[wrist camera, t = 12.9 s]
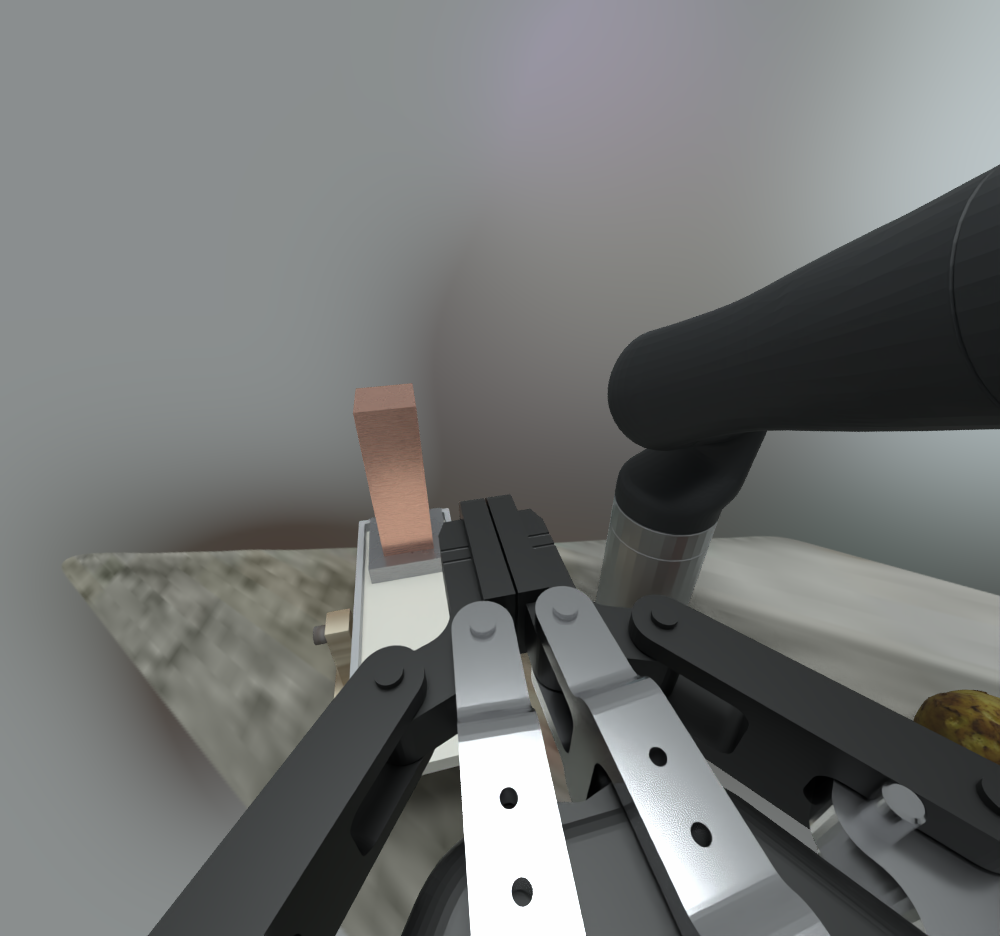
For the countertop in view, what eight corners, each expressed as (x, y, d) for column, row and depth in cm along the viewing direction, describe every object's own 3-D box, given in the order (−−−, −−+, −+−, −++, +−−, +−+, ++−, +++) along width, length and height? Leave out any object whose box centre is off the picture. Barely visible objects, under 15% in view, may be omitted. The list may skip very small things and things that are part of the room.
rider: (451, 570, 45) (436, 412, 35) (371, 584, 43) (331, 423, 33) (442, 520, 51) (427, 375, 41) (372, 531, 50) (339, 383, 40)
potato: (1105, 842, 33) (1198, 799, 29) (915, 807, 35) (974, 761, 31) (1018, 728, 40) (1082, 679, 35) (862, 704, 42) (905, 655, 37)
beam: (496, 755, 32) (496, 737, 30) (352, 793, 30) (343, 775, 28) (450, 526, 53) (448, 508, 51) (363, 539, 51) (359, 521, 49)
